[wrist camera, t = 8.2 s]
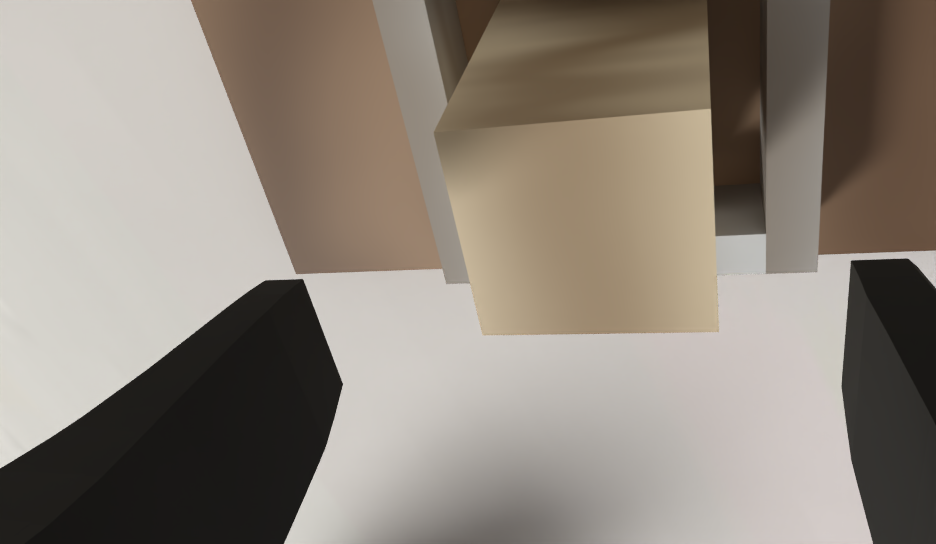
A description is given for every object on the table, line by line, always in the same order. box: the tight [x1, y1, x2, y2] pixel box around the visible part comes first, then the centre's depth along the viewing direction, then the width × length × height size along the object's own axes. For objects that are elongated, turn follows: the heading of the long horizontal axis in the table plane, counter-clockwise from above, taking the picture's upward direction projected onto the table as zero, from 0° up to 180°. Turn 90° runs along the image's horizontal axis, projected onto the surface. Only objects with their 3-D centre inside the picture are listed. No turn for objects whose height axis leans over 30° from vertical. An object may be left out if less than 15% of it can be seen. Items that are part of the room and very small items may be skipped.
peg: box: [433, 0, 719, 335], centre depth 16 cm, size 4×4×6 cm
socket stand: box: [191, 0, 936, 284], centre depth 17 cm, size 18×10×3 cm, turn 102°
